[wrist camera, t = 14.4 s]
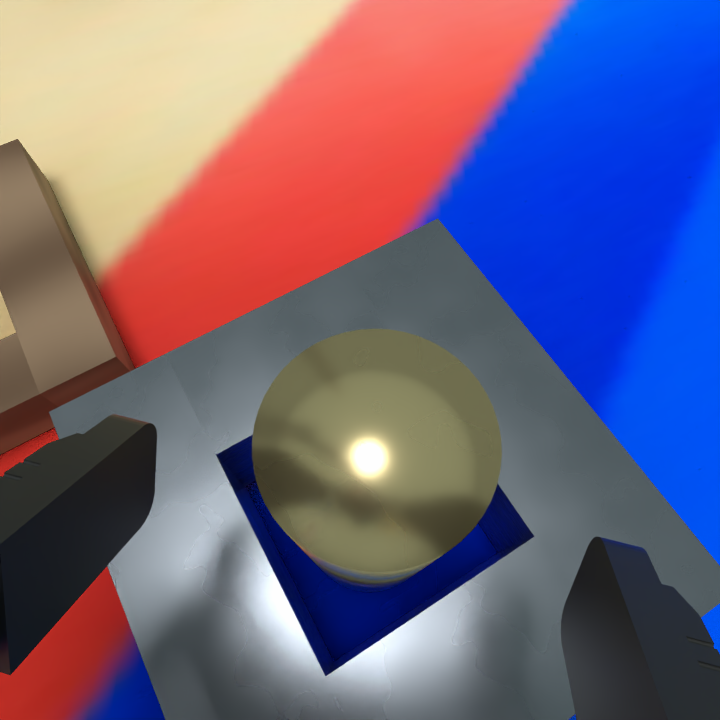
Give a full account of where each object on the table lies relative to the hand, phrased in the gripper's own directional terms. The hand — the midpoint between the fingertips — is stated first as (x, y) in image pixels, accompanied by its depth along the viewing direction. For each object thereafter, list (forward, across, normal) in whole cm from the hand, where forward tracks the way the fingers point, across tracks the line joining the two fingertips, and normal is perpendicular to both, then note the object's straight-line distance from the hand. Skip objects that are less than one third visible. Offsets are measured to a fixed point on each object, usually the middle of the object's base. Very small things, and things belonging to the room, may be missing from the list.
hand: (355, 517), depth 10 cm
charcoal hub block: (+8, 0, +6) cm, 10 cm away
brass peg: (+8, 0, +6) cm, 10 cm away
